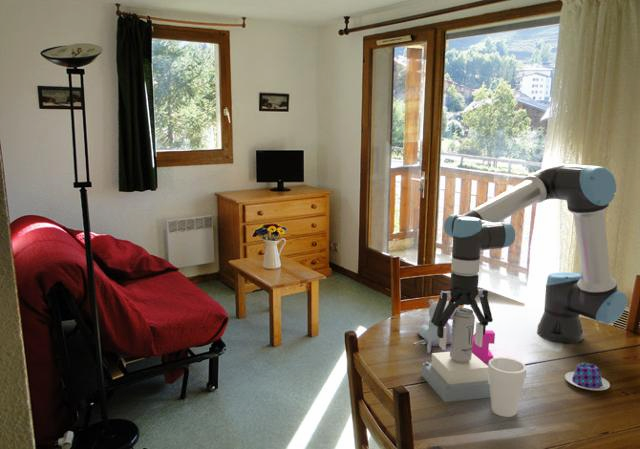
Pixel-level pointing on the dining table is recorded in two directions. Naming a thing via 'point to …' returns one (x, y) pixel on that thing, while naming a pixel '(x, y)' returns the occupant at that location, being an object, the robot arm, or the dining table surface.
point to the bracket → (484, 346)
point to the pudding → (587, 377)
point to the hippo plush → (434, 329)
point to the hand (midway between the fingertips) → (460, 346)
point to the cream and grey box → (457, 377)
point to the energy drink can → (462, 335)
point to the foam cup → (505, 385)
